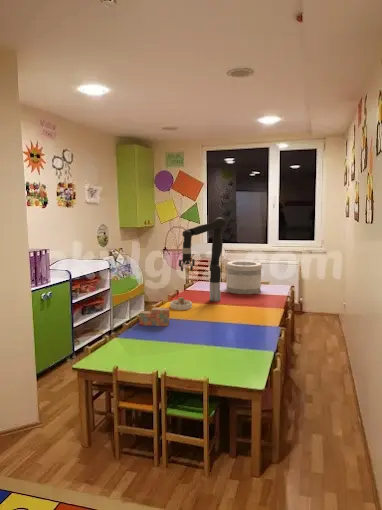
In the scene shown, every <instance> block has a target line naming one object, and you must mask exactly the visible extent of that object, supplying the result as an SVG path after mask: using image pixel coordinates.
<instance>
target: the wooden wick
mask: <svg viewBox="0 0 382 510" xmlns="http://www.w3.org/2000/svg"><path fill="white" fill-rule="evenodd" d="M177 300H178V305H180V304H184V300H185V297H183V296H181V297H179V296H178V298H177Z"/></svg>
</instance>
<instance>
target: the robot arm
mask: <svg viewBox="0 0 382 510" xmlns="http://www.w3.org/2000/svg"><path fill="white" fill-rule="evenodd" d="M226 225H227V221H226V220H225V218H223V217H220V216H219V217H216V218H215V219H214V220H213V221H212V222H210V223H206V224H200V225H197V226H195V227H193V228H187V229H185V230H184V231H183V232H182V237H183V242H182V243H183V244H182V259H178V267H180V271H181V272H184V266H185V265H189V267H190V268H189V270H190V272H192V271H193V270H194V268H193V267H194V266H195V265H196V264H195V263H196V262H195V259H194V258H192V239H193V236H198V235H202V234H204V233H206V232H209V231H213V236H212V244H211V259H210V263H209V272H210V275H209V277H210V278H209V301H211V302H220V301H221V299H222V297H221V294H222V293H221V291H222V290H221V277H222V276H221V274H222V269H221V267H220V258H221V255H222V251H223V244H224V242H223V236H222V235H223V234H222V232H223V231H222V230H223V228H225V226H226Z"/></svg>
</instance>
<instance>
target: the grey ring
mask: <svg viewBox="0 0 382 510" xmlns="http://www.w3.org/2000/svg"><path fill="white" fill-rule="evenodd" d="M169 306H170V309H172V310H176V311H187V310H190V309H192V306H193V303H192V301H191V300H187V299H184V304H180V305H178V299H174V300H171V301H170V303H169Z"/></svg>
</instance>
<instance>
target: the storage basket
mask: <svg viewBox="0 0 382 510" xmlns="http://www.w3.org/2000/svg"><path fill="white" fill-rule="evenodd" d="M262 265H263V264H262V263H260V262H258V261H251V260H233V261H232V260H231V261H228V262H226V275H225V276H226V284H225V285H226V287H225V288H226V292H229V293H232V294H237V295H253V293H255V294H258V293H260V292H261V287H262V268H263V267H262Z"/></svg>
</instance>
